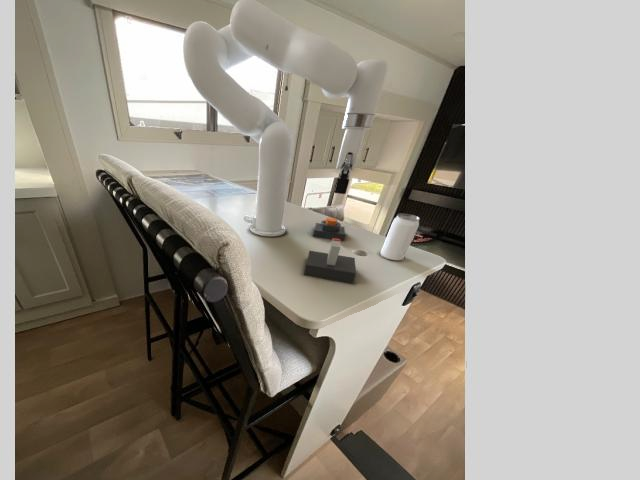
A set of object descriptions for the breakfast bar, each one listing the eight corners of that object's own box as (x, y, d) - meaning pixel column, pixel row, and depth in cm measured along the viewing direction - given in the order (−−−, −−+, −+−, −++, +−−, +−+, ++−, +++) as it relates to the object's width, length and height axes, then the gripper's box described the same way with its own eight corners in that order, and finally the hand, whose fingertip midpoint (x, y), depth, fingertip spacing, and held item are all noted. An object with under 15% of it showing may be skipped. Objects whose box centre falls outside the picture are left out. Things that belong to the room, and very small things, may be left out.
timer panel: (303, 274, 65) (306, 264, 63) (307, 260, 72) (309, 250, 70) (352, 283, 62) (356, 273, 60) (351, 267, 69) (354, 257, 67)
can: (406, 262, 73) (425, 221, 66) (382, 259, 74) (399, 219, 67) (399, 253, 78) (416, 214, 71) (377, 250, 79) (392, 212, 72)
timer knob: (335, 265, 63) (340, 246, 60) (326, 264, 63) (332, 245, 60) (335, 257, 67) (340, 238, 64) (327, 256, 67) (332, 237, 64)
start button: (325, 225, 86) (326, 220, 85) (325, 222, 89) (326, 217, 88) (336, 226, 85) (337, 221, 84) (336, 223, 88) (337, 218, 87)
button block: (312, 236, 87) (315, 224, 85) (314, 228, 93) (317, 217, 91) (343, 240, 85) (346, 229, 82) (342, 232, 91) (345, 221, 89)
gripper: (344, 122, 76) (330, 183, 86) (342, 122, 62) (325, 194, 72) (370, 123, 74) (353, 186, 84) (374, 123, 60) (353, 197, 70)
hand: (340, 190), depth 78 cm, fingers open, 9 cm apart
